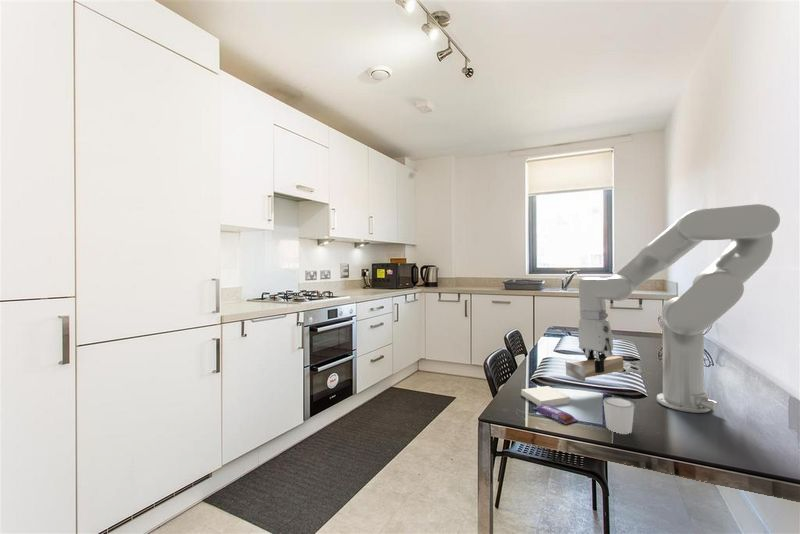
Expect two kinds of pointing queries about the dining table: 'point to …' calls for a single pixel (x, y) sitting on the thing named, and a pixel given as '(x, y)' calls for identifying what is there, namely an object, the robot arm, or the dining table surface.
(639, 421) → the dining table surface
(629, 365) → the paint palette
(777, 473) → the dining table surface
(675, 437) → the dining table surface
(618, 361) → the tan wooden plank
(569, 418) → the snack package
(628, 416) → the white cylinder
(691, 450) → the dining table surface
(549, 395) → the tile
